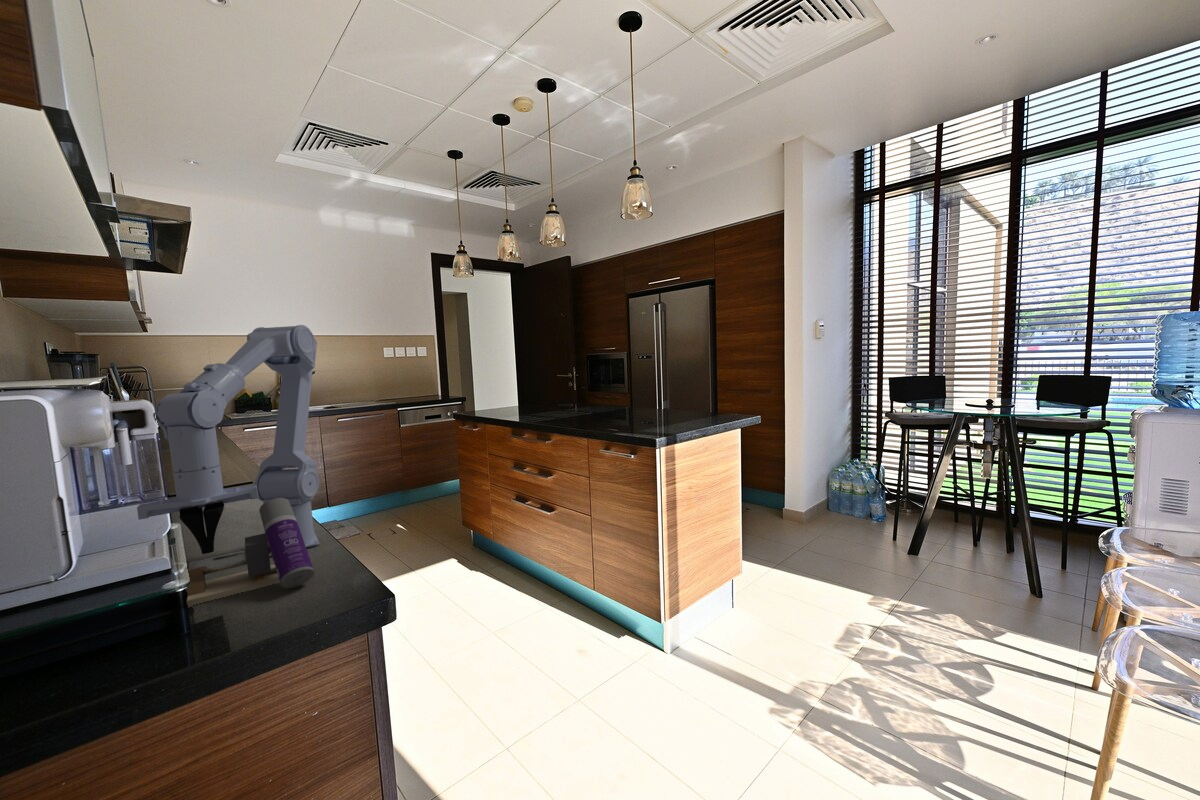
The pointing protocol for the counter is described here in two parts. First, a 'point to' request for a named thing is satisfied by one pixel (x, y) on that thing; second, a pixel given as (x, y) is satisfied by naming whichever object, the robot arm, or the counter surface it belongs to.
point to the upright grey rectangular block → (257, 555)
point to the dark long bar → (222, 562)
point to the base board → (225, 584)
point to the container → (286, 543)
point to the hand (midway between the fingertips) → (208, 551)
